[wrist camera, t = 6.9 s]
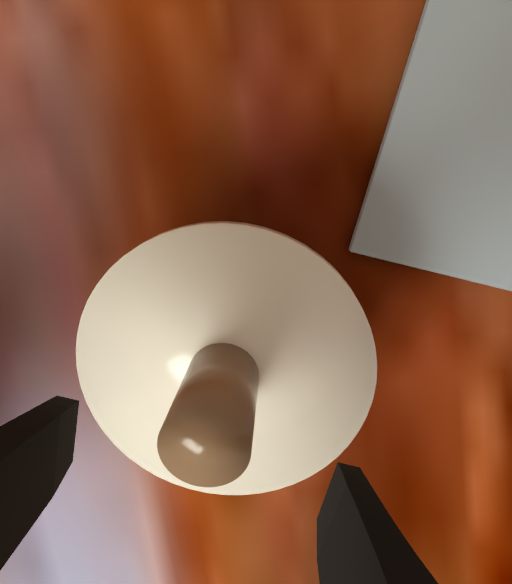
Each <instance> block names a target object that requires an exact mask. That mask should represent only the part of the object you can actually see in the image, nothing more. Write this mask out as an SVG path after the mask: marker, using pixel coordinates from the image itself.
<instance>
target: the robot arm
mask: <svg viewBox="0 0 512 584" xmlns="http://www.w3.org/2000/svg"><path fill="white" fill-rule="evenodd" d="M78 406H79V401H77V400H73V399H69V398H65V397H60V396H56V397H54V398H52V399H50V400H48V401H46V402H44V403H42V404H40V405H39V406H37V407H35V408H33V409H31V410H30V411H28V412H26V413H24V414H22V415H20V416H18V417H17V418H15V419H13V420H11V421H9V422H7V423H5V424H4V425H2V426H0V570H1V569H2V567H3V566H4V565H5V563H6V562H7V560H8V559H9V558H10V556H11V555H12V553H13V552H14V551H15V549H16V548H17V546H18V545H19V544H20V542H21V541H22V539H23V538H24V537H25V535H26V534H27V533H28V531H29V530H30V528H31V527H32V526H33V524H34V523H35V521H36V520H37V519H38V517H39V516H40V514H41V513H42V511H43V510H44V509H45V507H46V506H47V504H48V503H49V502H50V500H51V499H52V497H53V496H54V494H55V492H56V490H57V489H58V487H59V485H60V483H61V482H62V480H63V478H64V476H65V474H66V472H67V470H68V469H69V467H70V465H71V463H72V461H73V452H74V443H75V434H76V425H77V415H78ZM317 563H318V572H319V581H320V584H438V583H437V581H436V580H435V579H434V578H433V576H432V575H431V573H430V572H429V571H428V569H427V568H426V567H425V565H424V564H423V563H422V561H421V560H420V559H419V557H418V556H417V555H416V553H415V552H414V550H413V549H412V547H411V546H410V545H409V543H408V542H407V540H406V539H405V537H404V536H403V534H402V533H401V532H400V530H399V529H398V527H397V526H396V524H395V523H394V521H393V519H392V518H391V516H390V515H389V513H388V512H387V510H386V509H385V507H384V505H383V504H382V502H381V501H380V499H379V498H378V496H377V494H376V493H375V491H374V490H373V488H372V486H371V485H370V483H369V482H368V480H367V478H366V477H365V475H364V474H363V472H362V471H361V469H360V468H359V467H355V466H351V465H346V464H342V463H337V466H336V469H335V471H334V474H333V477H332V480H331V482H330V485H329V488H328V490H327V493H326V496H325V499H324V501H323V504H322V507H321V509H320V512H319V515H318V518H317Z"/></svg>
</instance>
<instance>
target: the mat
mask: <svg viewBox="0 0 512 584" xmlns="http://www.w3.org/2000/svg"><path fill="white" fill-rule="evenodd" d="M349 251H350V252H353V253H357V254H362V255H366V256H370V257H374V258H378V259H382V260H386V261H390V262H394V263H398V264H403V265H407V266H411V267H415V268H419V269H423V270H427V271H431V272H435V273H439V274H444V275H448V276H452V277H456V278H460V279H464V280H468V281H472V282H476V283H480V284H485V285H489V286H493V287H497V288H501V289H505V290H509V291H512V0H426V3H425V6H424V9H423V12H422V16H421V19H420V22H419V25H418V28H417V32H416V35H415V38H414V41H413V44H412V47H411V51H410V54H409V57H408V60H407V63H406V67H405V70H404V73H403V76H402V79H401V83H400V86H399V89H398V92H397V95H396V99H395V102H394V105H393V108H392V111H391V115H390V118H389V121H388V124H387V127H386V130H385V134H384V137H383V140H382V143H381V146H380V150H379V153H378V156H377V159H376V162H375V166H374V169H373V172H372V175H371V178H370V182H369V185H368V188H367V191H366V194H365V198H364V201H363V204H362V207H361V210H360V213H359V217H358V220H357V223H356V226H355V229H354V233H353V236H352V239H351V242H350V245H349Z"/></svg>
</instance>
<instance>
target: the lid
mask: <svg viewBox="0 0 512 584" xmlns="http://www.w3.org/2000/svg"><path fill="white" fill-rule="evenodd" d="M76 364H77V372H78V377H79V382H80V386H81V389H82V392H83V395H84V398H85V400H86V403H87V405H88V407H89V409H90V411H91V413H92V415H93V417H94V418H95V420H96V421H97V423H98V424H99V426H100V427H101V429H102V430H103V432H104V433H105V434H106V435H107V436H108V438H109V439H110V440H111V441H112V442H113V443H114V445H115V446H116V447H118V448H119V449H120V450H121V451H122V452H123V453H124V454H125V455H126V456H127V457H128V458H130V459H131V460H133V461H134V462H135V463H137V464H138V465H139V466H141V467H142V468H144V469H145V470H147V471H149V472H151V473H152V474H154V475H156V476H158V477H160V478H162V479H164V480H166V481H169V482H171V483H173V484H176V485H179V486H182V487H185V488H188V489H192V490H196V491H201V492H205V493H212V494H221V495H248V494H258V493H264V492H269V491H273V490H278V489H281V488H284V487H287V486H290V485H293V484H295V483H297V482H300V481H302V480H304V479H306V478H308V477H310V476H312V475H313V474H315V473H317V472H318V471H320V470H321V469H323V468H324V467H326V466H327V465H328V464H329V463H331V462H332V461H333V460H334V459H336V458H337V457H338V456H339V455H340V454H341V453H342V452H343V451H344V450H345V449H346V448H347V446H348V445H349V444H350V443H351V441H352V440H353V439H354V437H355V436H356V435H357V433H358V432H359V430H360V428H361V426H362V425H363V423H364V421H365V419H366V417H367V415H368V412H369V409H370V406H371V404H372V401H373V397H374V392H375V387H376V380H377V357H376V348H375V343H374V339H373V335H372V331H371V327H370V325H369V323H368V320H367V318H366V315H365V313H364V311H363V309H362V307H361V305H360V303H359V301H358V299H357V298H356V296H355V294H354V293H353V291H352V289H351V288H350V286H349V285H348V283H347V282H346V281H345V280H344V278H343V277H342V276H341V275H340V274H339V272H338V271H337V270H336V269H335V268H334V267H333V266H332V265H331V264H330V263H329V262H328V261H326V260H325V259H324V258H323V257H322V256H321V255H319V254H318V253H317V252H315V251H314V250H312V249H311V248H310V247H308V246H307V245H305V244H303V243H302V242H300V241H298V240H296V239H294V238H292V237H290V236H288V235H286V234H283V233H281V232H278V231H275V230H273V229H270V228H267V227H263V226H258V225H254V224H250V223H243V222H232V221H210V222H200V223H195V224H189V225H184V226H181V227H178V228H174V229H171V230H168V231H165V232H163V233H161V234H159V235H157V236H155V237H153V238H151V239H149V240H147V241H145V242H144V243H142V244H140V245H139V246H137V247H136V248H134V249H133V250H132V251H130V252H129V253H127V254H126V255H124V256H123V257H122V258H121V259H120V260H118V261H117V262H116V263H115V264H114V265H113V266H112V267H111V268H110V269H109V270H108V271H107V272H106V273H105V275H104V276H103V277H102V278H101V280H100V281H99V282H98V283H97V285H96V287H95V288H94V290H93V292H92V293H91V295H90V297H89V299H88V300H87V303H86V305H85V308H84V310H83V313H82V316H81V319H80V323H79V328H78V332H77V341H76Z"/></svg>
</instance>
